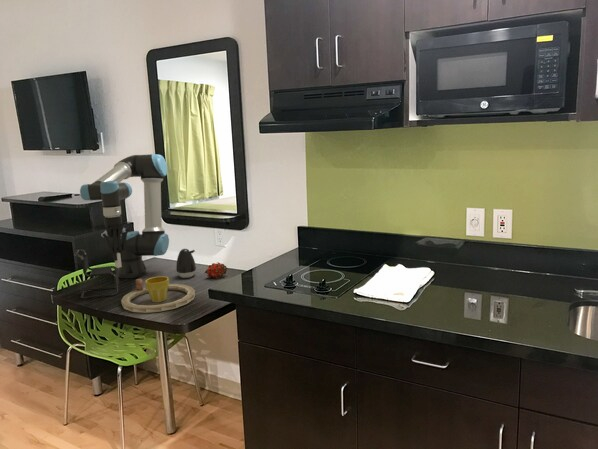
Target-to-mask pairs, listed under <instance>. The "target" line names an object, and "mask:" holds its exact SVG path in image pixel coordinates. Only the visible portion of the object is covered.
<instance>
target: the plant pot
mask: <svg viewBox="0 0 598 449" xmlns="http://www.w3.org/2000/svg"><path fill="white" fill-rule="evenodd" d="M144 282H145V283H144V284H145V287H146V289H148V291H149V292H148V294H149V296H150V299H151V302H153V303H161V302H165V301H167V299H168V298H167V296H168V286H169V284H170V279H169V277H168V276H154V277H150V278H148V279H146V280H144Z"/></svg>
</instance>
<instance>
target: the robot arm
mask: <svg viewBox="0 0 598 449" xmlns="http://www.w3.org/2000/svg"><path fill="white" fill-rule="evenodd" d="M167 175H168V165H167V162H166V160H165V158H164V156H163V155H161V154H155V153H152V154H133V155H130V156H127V157H125V158H122V159H120V160H119V161H118V162H116V163H115V164H114V166H113V168H111V169H110V170H108V171H107V172H106V173H105V174H103V175H102V176H100V177H99V178H98V179H96V180H95V181H94V182H92V183H87V184H86V183H85V184H83V185H81V186H80V189H79V194H80V197H81V199H82V200H84V201H101V204H102V213H103V215H102V216H104V217H103V221H104V222H103V223H104V227H105V228H104V230H103V232H102V233H99V235H100V237H101V238H102V241H103V242H104V245H105V249H106V251H107V253H109V254H111V255H112V260H113V261H114V267H116V268H117V270H118V277H119V278H120V279H135V278H140V277H142V276H144V275H146V274H147V273H148V269H147V267H146V264H145V263H144V261H143V256H144V257H151V256H152V257H153V256H154V257H158V256H163V255H165V254H166V253H167V250H168V248H169V245H170V244H169V243H170V239H169V238H170V237H169V234H167V233H166V232H165V229H164V228H163V226H162V223H163V222H162V192H161V191H162V188H161V187H162V186H161V185H162V182H163V181H164V177H166V176H167ZM133 177H134V178H137V177H139V178H140V180H141V181H142V182H143V197H144V198H143V199H144V202H143V203H144V204H143V205H144V228H143V229H142V231H141V233H140V231H138V230H134V231H129V229H128V228H125V227H124V226H123V217H122V207H121V206H122V205H121V201H123V200H126V199H128V198H129V197H131V196H132V194H133V188H132V185H130V184H129V183H128V182H123V181H124V180H128V179H129V178H133Z"/></svg>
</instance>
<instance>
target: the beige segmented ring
mask: <svg viewBox="0 0 598 449" xmlns="http://www.w3.org/2000/svg"><path fill="white" fill-rule="evenodd" d="M143 283H144V282H143V279H142V278H137V279H135V286H136V287H135V288H136V289H134V290H131V291H130V292H128V293H127V294H125V295H124V296H123V297H122V298H121V300H120V302H121V306H122V308H123V309H124V310H127V311H129V312H132V313H145V314H148V313H157V312H159V313H160V312H164V311H170V310H174V309H178V308H179V307H183V306H185V305H187V304H189V303H190V302H192V301H193V300H194V299H195V296H196V290H195V289H194V288H193V287H192V286H190V285H187V284H181V283H169V286H168V290H169V291H180V292H183V293H186V294H185V296H183V297H181V298H180V299H179V298H178V299H176V300H174V301H172V302H167V303H162V304H156V305H155V304H152V305H146V304H145V305H142V304H141V305H140V304H136V303H133V302H131V301H132V300H133V299H135V298H137V297H139V296H141V295H145V294H149V291H148V289H146V286H144V284H143ZM168 290H167V291H168Z"/></svg>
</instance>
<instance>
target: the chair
mask: <svg viewBox="0 0 598 449" xmlns="http://www.w3.org/2000/svg"><path fill="white" fill-rule="evenodd" d="M79 252H83V253H84V254H83V255H84V256H83V255H81V254H79ZM73 256H74V258H75V257H76V258H77V257H79V258H80V259H81V260H80V261H81V266H82V271H83V276H85V277H87V278H93V277H94V278H96V277H104V276H110V275H111V276H113V278H114V285H113V286H105V287H104V286H103V287H97V288H95V287H94V288H89V289H85V290H83V291H82V292H81V293H80V299H81V298H86V299H85V300H88V299H87V298H91V299H96V298H97V299H98V297H99V298H106V297H113V296H116V295H117V294H118V293H119V285H120V279H119V277H118V267H115V265H109V266H108V265H107V266H98V267H90V266H89V261H88V260H89V259H88V253H87V251H86V249H84V248H77V249H76V250H75V252H74V254H73ZM112 269H113V270H114V271H115V273H114V272H111V271H112ZM88 270H89V271H90V274H88V273H87V272H88ZM103 289H104V290H113V289H115V292H112V293H107V294H98V295H91V296H85V293H86V292H85V291H88V290H97V291H102V290H103ZM84 292H85V293H84Z"/></svg>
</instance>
